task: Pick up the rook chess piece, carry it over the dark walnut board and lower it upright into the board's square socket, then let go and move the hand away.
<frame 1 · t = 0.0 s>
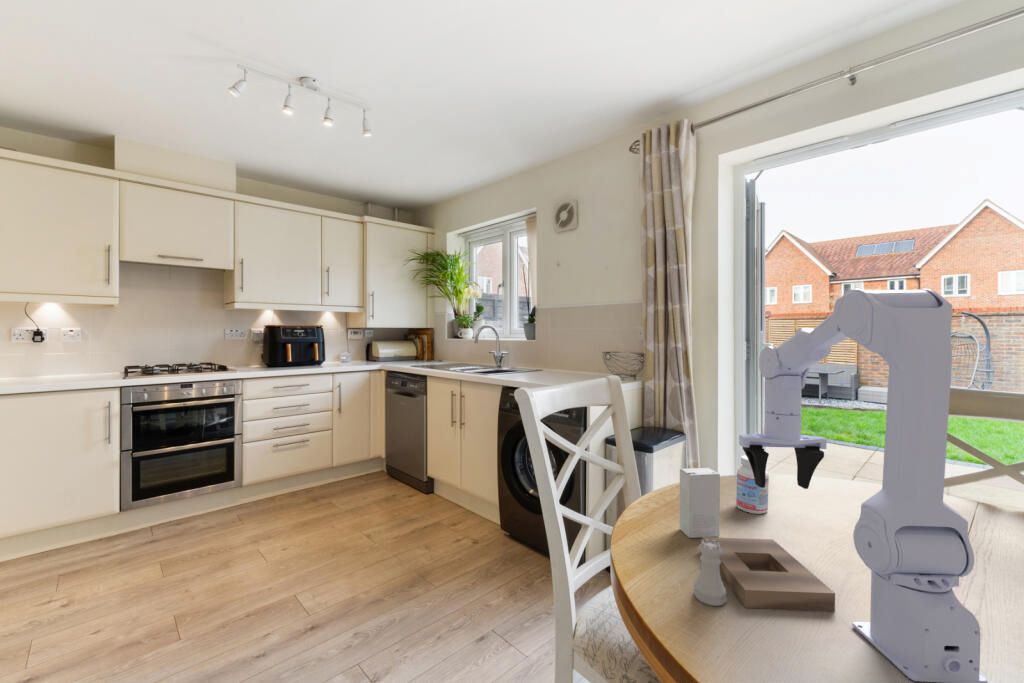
hand: (781, 486, 81), 10 cm above the table, tool pointing down, fingers open, 7 cm apart
socket board: (760, 577, 69), on the table
skincare box: (698, 534, 84), on the table
rook chess piece: (709, 599, 63), on the table
pill bottle: (751, 510, 96), on the table
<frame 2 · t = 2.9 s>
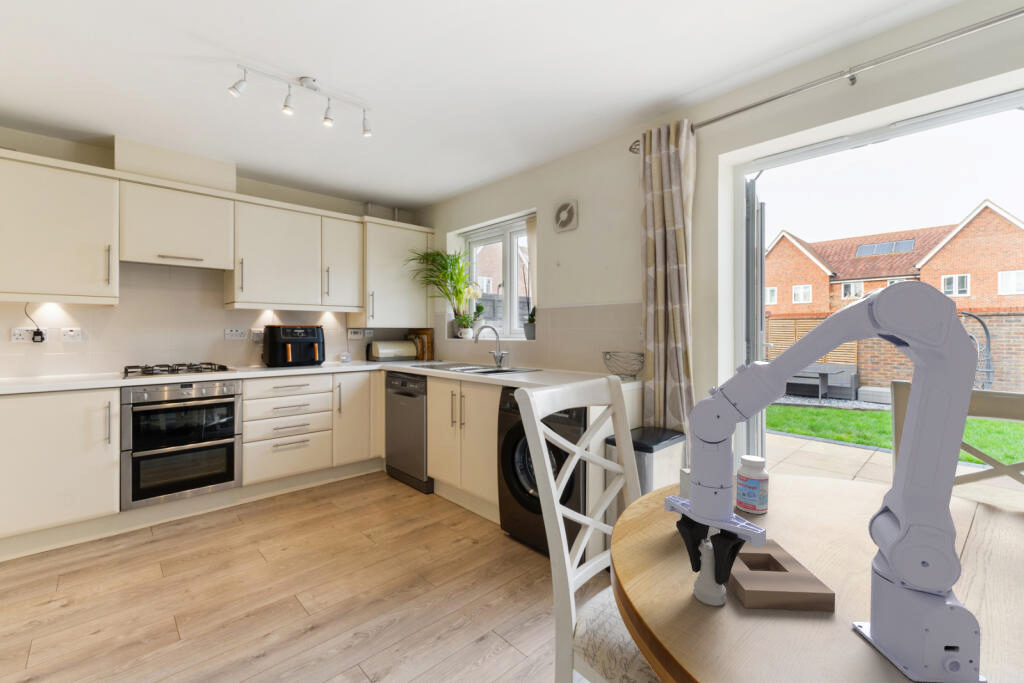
hand: (710, 575, 63), 3 cm above the table, tool pointing down, fingers closed on rook chess piece, 3 cm apart
rook chess piece: (709, 599, 63), on the table, touching gripper
everything else where it was.
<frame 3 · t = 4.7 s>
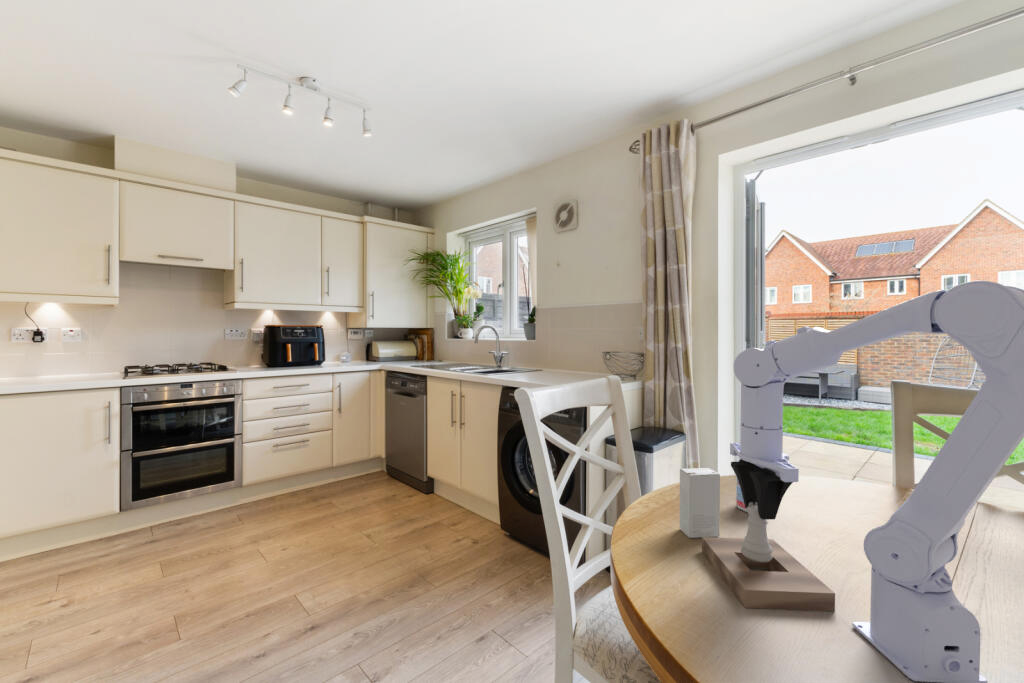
hand: (759, 513, 68), 10 cm above the table, tool pointing down, fingers closed on rook chess piece, 3 cm apart
rook chess piece: (756, 557, 69), point 3 cm above the table, touching gripper
everything else where it was.
when the fingers open (4 cm above the table, at t = 6.6 s): rook chess piece stays where it is, resting in socket board.
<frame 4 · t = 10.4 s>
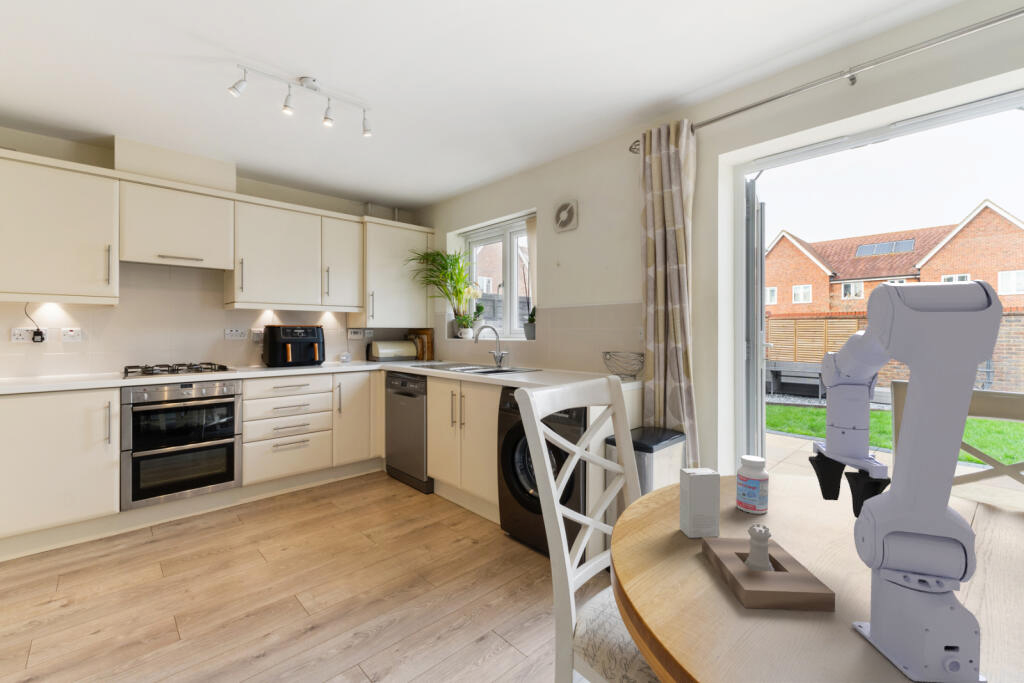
hand: (845, 508, 73), 9 cm above the table, tool pointing down, fingers open, 7 cm apart
rook chess piece: (758, 579, 69), resting in socket board
everything else where it was.
at the end: rook chess piece 0.2 cm off-centre on the socket board, point 0.0 cm above the socket board's base; rook chess piece tilted 0°; the gripper is holding nothing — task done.
